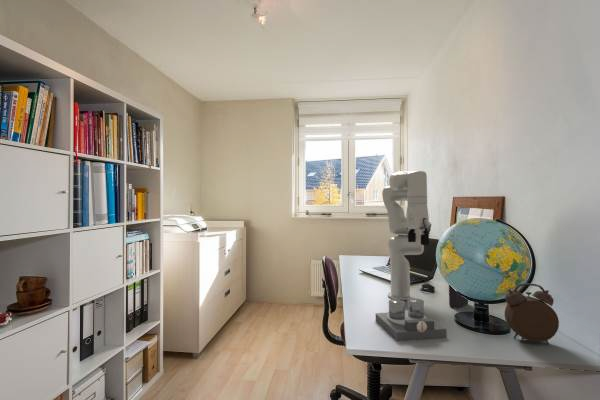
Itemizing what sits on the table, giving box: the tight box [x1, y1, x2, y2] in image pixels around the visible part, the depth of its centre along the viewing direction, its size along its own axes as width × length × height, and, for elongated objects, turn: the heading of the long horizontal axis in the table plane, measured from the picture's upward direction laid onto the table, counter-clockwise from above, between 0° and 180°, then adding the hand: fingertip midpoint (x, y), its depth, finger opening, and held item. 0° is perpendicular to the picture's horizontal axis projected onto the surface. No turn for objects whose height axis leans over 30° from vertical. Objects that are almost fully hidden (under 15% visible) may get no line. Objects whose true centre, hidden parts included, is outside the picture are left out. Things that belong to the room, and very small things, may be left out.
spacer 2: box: [407, 297, 425, 319], centre depth 116 cm, size 6×6×6 cm
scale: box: [375, 309, 448, 342], centre depth 114 cm, size 19×19×6 cm
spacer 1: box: [388, 298, 406, 320], centre depth 115 cm, size 6×6×6 cm
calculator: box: [448, 284, 469, 309], centre depth 140 cm, size 11×4×15 cm, turn 123°
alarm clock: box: [504, 282, 560, 345], centre depth 102 cm, size 14×7×20 cm, turn 78°
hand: (418, 243), depth 120 cm, fingers open, 9 cm apart
